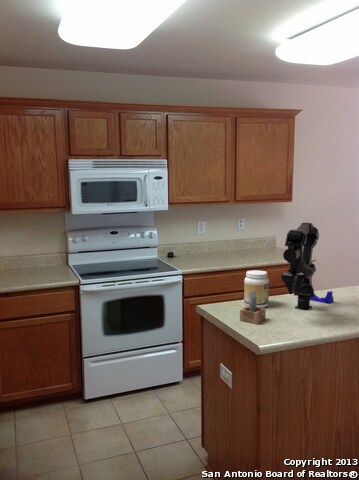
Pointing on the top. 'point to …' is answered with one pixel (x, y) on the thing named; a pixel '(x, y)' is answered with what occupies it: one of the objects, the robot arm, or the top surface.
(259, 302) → the supplement tub
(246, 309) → the walnut square holder
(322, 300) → the cable clip
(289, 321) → the top surface
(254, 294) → the slate dowel
